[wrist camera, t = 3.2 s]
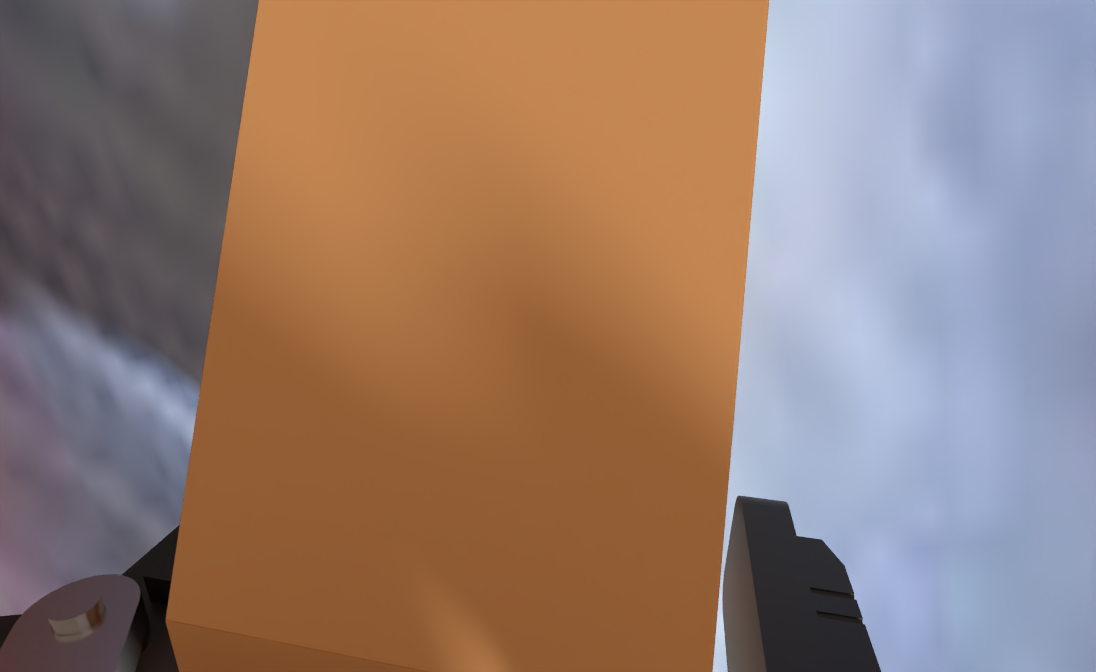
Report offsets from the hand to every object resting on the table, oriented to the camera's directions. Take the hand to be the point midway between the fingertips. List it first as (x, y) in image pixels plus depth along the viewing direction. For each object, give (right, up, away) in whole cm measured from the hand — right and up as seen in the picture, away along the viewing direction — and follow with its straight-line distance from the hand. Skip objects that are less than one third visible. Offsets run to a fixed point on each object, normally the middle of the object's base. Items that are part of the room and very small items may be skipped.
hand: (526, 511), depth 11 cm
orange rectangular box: (0, +4, 0) cm, 4 cm away
